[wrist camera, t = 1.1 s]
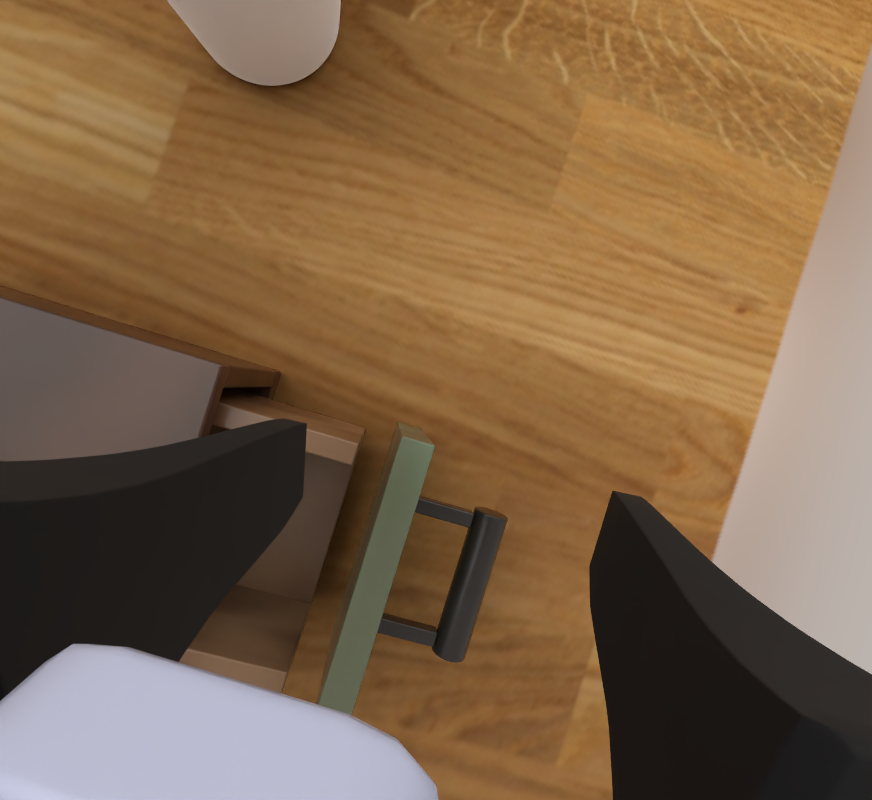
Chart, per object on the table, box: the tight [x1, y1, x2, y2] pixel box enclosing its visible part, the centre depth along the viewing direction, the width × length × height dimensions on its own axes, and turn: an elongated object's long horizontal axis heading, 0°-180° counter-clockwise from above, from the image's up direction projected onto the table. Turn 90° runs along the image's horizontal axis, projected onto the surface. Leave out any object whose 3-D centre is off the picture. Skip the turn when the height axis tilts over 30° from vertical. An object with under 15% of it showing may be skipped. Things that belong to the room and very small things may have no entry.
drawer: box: [179, 388, 508, 715], centre depth 20 cm, size 17×10×7 cm, turn 73°
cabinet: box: [0, 286, 281, 461], centre depth 19 cm, size 14×12×9 cm
